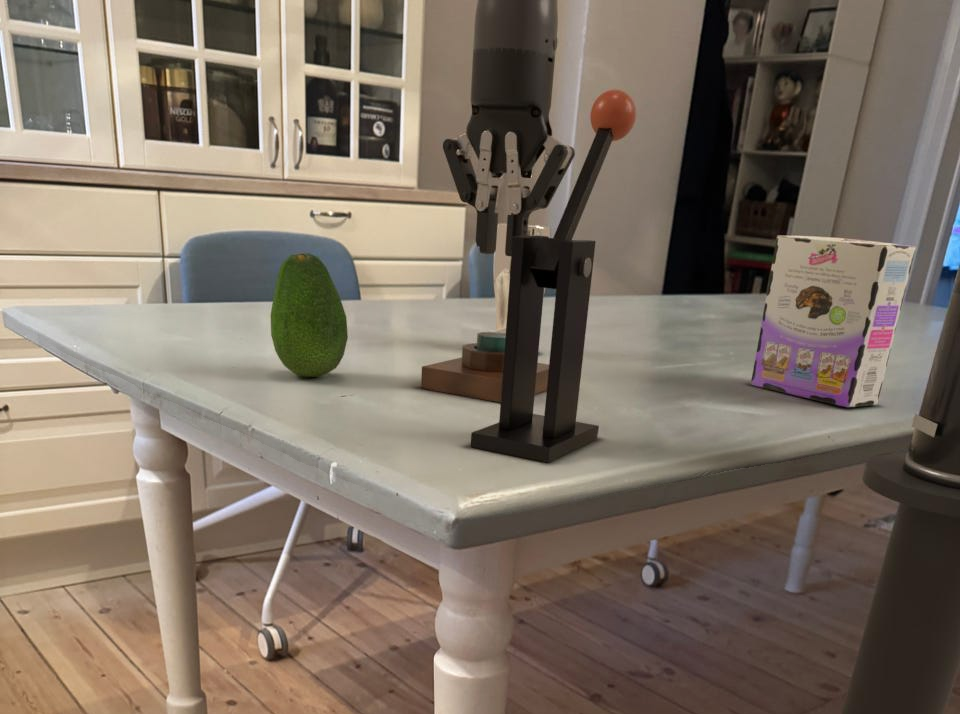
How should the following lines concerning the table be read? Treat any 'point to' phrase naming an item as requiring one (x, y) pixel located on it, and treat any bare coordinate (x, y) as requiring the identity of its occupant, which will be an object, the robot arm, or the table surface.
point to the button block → (474, 375)
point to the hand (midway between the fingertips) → (500, 253)
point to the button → (491, 341)
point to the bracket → (525, 301)
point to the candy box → (831, 318)
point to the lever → (585, 179)
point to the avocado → (307, 317)
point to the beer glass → (507, 271)
